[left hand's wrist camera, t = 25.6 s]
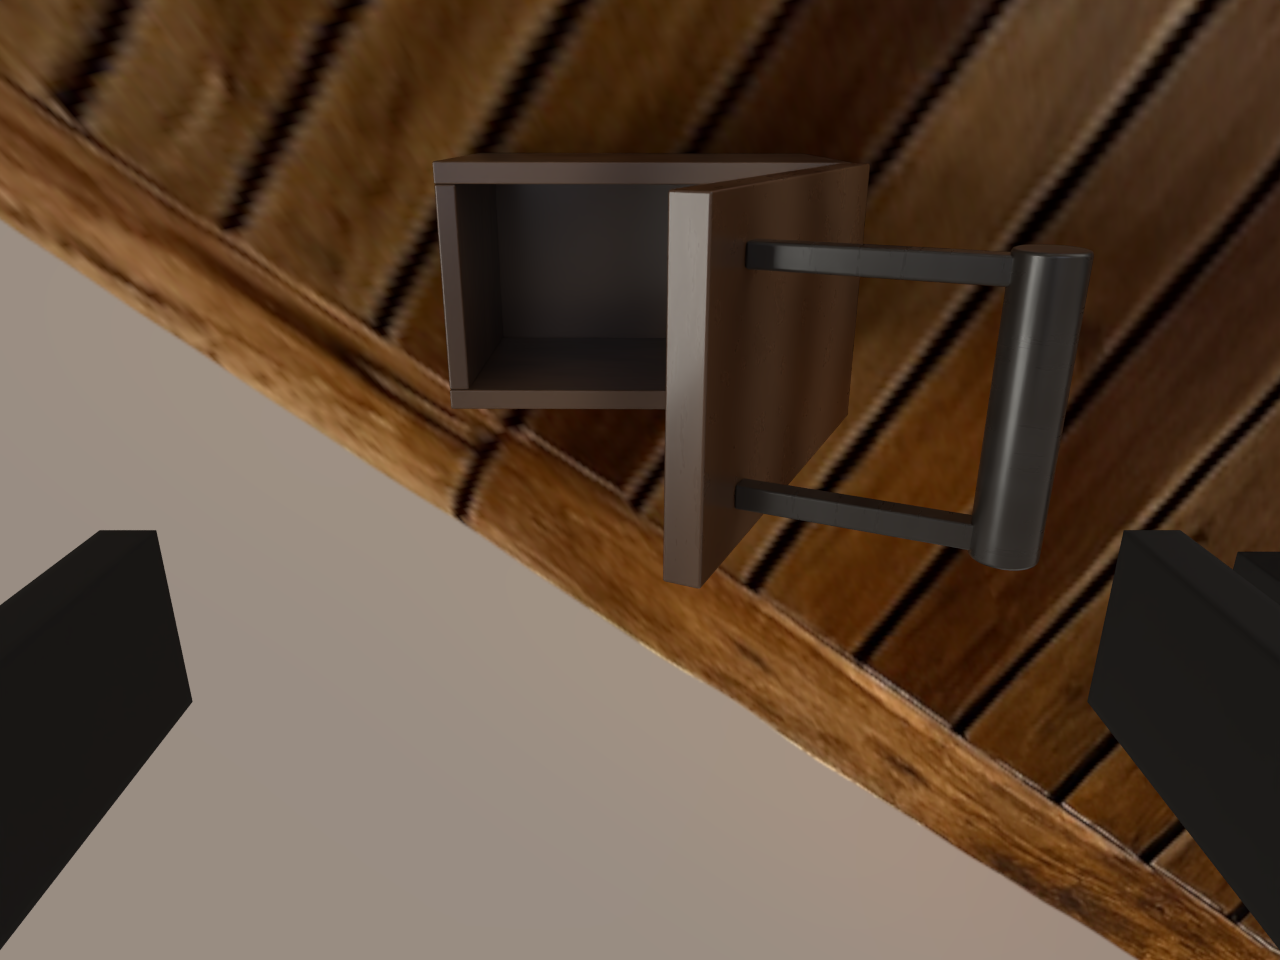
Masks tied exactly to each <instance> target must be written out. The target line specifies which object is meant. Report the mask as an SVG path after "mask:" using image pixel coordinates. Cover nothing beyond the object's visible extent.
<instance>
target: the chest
mask: <svg viewBox="0 0 1280 960" xmlns="http://www.w3.org/2000/svg"><path fill="white" fill-rule="evenodd" d="M840 163H851V162H846V161H840V160H835V159H829V158H824V157H819V156H813V155H808V154H697V153H478V154H472V155H467V156H461V157H456V158H450V159H445V160H439V161H434V162H433V174H434V183H435V198H436V211H437V224H438V237H439V251H440V264H441V277H442V290H443V303H444V316H445V329H446V343H447V356H448V369H449V382H450V389H451V390H450V397H451V407H452V408H464V409H665V408H666V331H667V255H668V192H669V190H671V189H676V188H682V187H689V186H696V185H702V184H709V183H715V182H722V181H728V180H735V179H741V178H748V177H755V176H761V175H768V174H774V173H781V172H787V171H794V170H801V169H807V168H814V167H820V166H827V165H833V164H840Z"/></svg>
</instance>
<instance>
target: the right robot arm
mask: <svg viewBox="0 0 1280 960" xmlns="http://www.w3.org/2000/svg"><path fill="white" fill-rule="evenodd" d="M1233 570H1234V571H1235V572H1236V573H1238V574H1239V575H1240V576H1242V577H1243V578H1244V579H1246V580H1247V581H1248V582H1250V583H1251V584H1252V585H1254V586H1255V587H1256V588H1258V589H1259V590H1260V591H1262V592H1263V593H1264V594H1266V595H1267V596H1268V597H1269V598H1271V599H1272V600H1273V601H1275V602H1276V603H1277V604H1279V605H1280V552H1238V553H1237V557H1236V560H1235V564H1234V568H1233Z"/></svg>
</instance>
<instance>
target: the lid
mask: <svg viewBox="0 0 1280 960" xmlns="http://www.w3.org/2000/svg"><path fill="white" fill-rule="evenodd" d="M869 167H870V165H869V164H868V163H840V164H833V165H827V166H820V167H814V168H807V169H801V170H794V171H787V172H781V173H774V174H768V175H761V176H755V177H748V178H741V179H735V180H728V181H722V182H715V183H709V184H702V185H696V186H689V187H682V188H676V189H671V190H669V192H668V255H667V331H666V408H665V485H664V562H663V580H664V581H666V582H671V583H676V584H680V585H685V586H689V587H694V588H701V587H702V586H703V584H704V583H705V582H706V581H707V580H708V578H709V577H710V576H711V575H712V574H713V573H714V571H715V570H716V569H717V568H718V567H719V566H720V564H721V563H722V562H723V561H724V560H725V558H726V557H727V556H728V555H729V554H730V553H731V551H732V550H733V549H734V548H735V547H736V546H737V544H738V543H739V542H740V541H741V540H742V538H743V537H744V536H745V535H746V534H747V533H748V531H749V530H750V529H751V528H752V527H753V526H754V524H755V523H756V522H757V521H758V520H759V518H760V517H761V516H762V515H763V514H769V515H774V516H780V517H786V518H791V519H797V520H803V521H808V522H814V523H820V524H825V525H831V526H837V527H842V528H848V529H854V530H859V531H865V532H871V533H876V534H882V535H888V536H893V537H899V538H905V539H910V540H916V541H922V542H927V543H933V544H938V545H944V546H950V547H955V548H961V549H967V550H968V553H969V555H970V556H971V557H972V558H973V559H974V560H976V561H978V562H979V563H982V564H984V565H987V566H990V567H993V568H998V569H1003V570H1025V569H1029V568H1032V567H1034V566H1035V565H1036V564H1037V563H1038V561H1039V558H1040V552H1041V547H1042V541H1043V536H1044V530H1045V524H1046V519H1047V513H1048V508H1049V502H1050V497H1051V491H1052V486H1053V480H1054V474H1055V469H1056V463H1057V458H1058V452H1059V447H1060V441H1061V435H1062V430H1063V424H1064V419H1065V413H1066V408H1067V402H1068V397H1069V391H1070V385H1071V380H1072V374H1073V369H1074V363H1075V358H1076V352H1077V346H1078V341H1079V335H1080V330H1081V324H1082V319H1083V313H1084V308H1085V302H1086V296H1087V291H1088V285H1089V280H1090V274H1091V269H1092V263H1093V257H1094V254H1093V251H1091V250H1089V249H1085V248H1080V247H1073V246H1063V245H1042V244H1035V245H1020V246H1016V247H1013V249H1012V250H1011V252H1002V251H983V250H964V249H946V248H927V247H909V246H890V245H872V244H863V235H864V224H865V212H866V201H867V190H868V179H869ZM860 277H869V278H884V279H898V280H913V281H928V282H943V283H957V284H972V285H987V286H1001V287H1006V288H1005V295H1004V302H1003V309H1002V316H1001V322H1000V329H999V336H998V343H997V350H996V356H995V363H994V370H993V377H992V384H991V390H990V397H989V404H988V411H987V418H986V424H985V431H984V438H983V445H982V452H981V458H980V465H979V472H978V479H977V486H976V492H975V499H974V506H973V513H972V515H968V514H961V513H955V512H949V511H943V510H937V509H931V508H924V507H918V506H912V505H906V504H900V503H894V502H887V501H881V500H875V499H869V498H863V497H857V496H850V495H844V494H838V493H832V492H826V491H820V490H814V489H807V488H801V487H795V486H789V485H788V484H789V483H790V482H791V481H792V480H793V478H794V477H795V476H796V475H797V474H798V473H799V471H800V470H801V469H802V468H803V467H804V466H805V464H806V463H807V462H808V461H809V460H810V458H811V457H812V456H813V455H814V454H815V453H816V451H817V450H818V449H819V448H820V447H821V446H822V444H823V443H824V442H825V441H826V440H827V438H828V437H829V436H830V435H831V434H832V433H833V431H834V430H835V429H836V428H837V427H838V426H839V424H840V423H841V422H842V421H843V420H844V418H845V417H846V416H847V415H848V403H849V392H850V381H851V370H852V359H853V347H854V336H855V325H856V314H857V302H858V291H859V280H860Z"/></svg>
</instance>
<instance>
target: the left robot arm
mask: <svg viewBox="0 0 1280 960" xmlns="http://www.w3.org/2000/svg"><path fill="white" fill-rule="evenodd" d="M191 703H192V697H191V692H190V688H189V683H188V678H187V673H186V669H185V664H184V659H183V655H182V650H181V645H180V640H179V636H178V631H177V626H176V621H175V617H174V612H173V607H172V603H171V598H170V593H169V588H168V584H167V579H166V574H165V570H164V565H163V560H162V555H161V551H160V546H159V541H158V537H157V532H156V530H100V531H98V532H97V533H96V534H94V535H93V536H92V537H90V538H89V539H88V540H86V541H85V542H84V543H82V544H81V545H80V546H78V547H77V548H76V549H74V550H73V551H72V552H70V553H69V554H68V555H66V556H65V557H64V558H62V559H61V560H60V561H58V562H57V563H56V564H54V565H53V566H52V567H50V568H49V569H48V570H46V571H45V572H44V573H43V574H41V575H40V576H38V577H37V578H36V579H35V580H33V581H32V582H31V583H29V584H28V585H27V586H25V587H24V588H22V589H21V590H20V591H18V592H17V593H16V594H14V595H13V596H12V597H11V598H9V599H8V600H7V601H5V602H4V603H3V604H1V605H0V950H1V948H2V947H3V946H4V944H5V943H6V942H7V941H8V939H9V938H10V937H11V935H12V934H13V933H14V932H15V930H16V929H17V928H18V926H19V925H20V924H21V923H22V921H23V920H24V919H25V917H26V916H27V915H28V913H29V912H30V911H31V910H32V908H33V907H34V906H35V904H36V903H37V902H38V901H39V899H40V898H41V897H42V895H43V894H44V893H45V891H46V890H47V889H48V888H49V886H50V885H51V884H52V882H53V881H54V880H55V879H56V877H57V876H58V875H59V873H60V872H61V871H62V870H63V868H64V867H65V866H66V864H67V863H68V862H69V860H70V859H71V858H72V857H73V855H74V854H75V853H76V851H77V850H78V849H79V848H80V846H81V845H82V844H83V842H84V841H85V840H86V839H87V837H88V836H89V835H90V833H91V832H92V831H93V829H94V828H95V827H96V826H97V824H98V823H99V822H100V820H101V819H102V818H103V817H104V815H105V814H106V813H107V811H108V810H109V809H110V808H111V806H112V805H113V804H114V802H115V801H116V800H117V799H118V797H119V796H120V795H121V793H122V792H123V791H124V790H125V788H126V787H127V786H128V784H129V783H130V782H131V780H132V779H133V778H134V776H135V775H136V774H137V773H138V771H139V770H140V769H141V767H142V766H143V765H144V764H145V762H146V761H147V760H148V759H149V757H150V756H151V755H152V753H153V752H154V751H155V749H156V748H157V747H158V746H159V744H160V743H161V742H162V740H163V739H164V738H165V737H166V735H167V734H168V733H169V731H170V730H171V729H172V728H173V726H174V725H175V724H176V722H177V721H178V720H179V718H180V717H181V716H182V715H183V713H184V712H185V711H186V709H187V708H188V707H189V706H190V704H191ZM1088 703H1089V704H1090V706H1091V707H1092V708H1093V709H1094V711H1095V712H1096V713H1097V715H1098V716H1099V717H1100V718H1101V720H1102V721H1103V722H1104V724H1105V725H1106V726H1107V728H1108V729H1109V730H1110V731H1111V733H1112V734H1113V735H1114V737H1115V738H1116V739H1117V740H1118V742H1119V743H1120V744H1121V746H1122V747H1123V748H1124V749H1125V751H1126V752H1127V753H1128V755H1129V756H1130V757H1131V759H1132V760H1133V761H1134V762H1135V764H1136V765H1137V766H1138V768H1139V769H1140V770H1141V771H1142V773H1143V774H1144V775H1145V777H1146V778H1147V779H1148V780H1149V782H1150V783H1151V784H1152V786H1153V787H1154V788H1155V790H1156V791H1157V792H1158V793H1159V795H1160V796H1161V797H1162V799H1163V800H1164V801H1165V802H1166V804H1167V805H1168V806H1169V808H1170V809H1171V810H1172V811H1173V813H1174V814H1175V815H1176V817H1177V818H1178V819H1179V821H1180V822H1181V823H1182V824H1183V826H1184V827H1185V828H1186V830H1187V831H1188V832H1189V833H1190V835H1191V836H1192V837H1193V839H1194V840H1195V841H1196V842H1197V844H1198V845H1199V846H1200V848H1201V849H1202V850H1203V851H1204V853H1205V854H1206V855H1207V857H1208V858H1209V859H1210V861H1211V862H1212V863H1213V864H1214V866H1215V867H1216V868H1217V870H1218V871H1219V872H1220V873H1221V875H1222V876H1223V877H1224V879H1225V880H1226V881H1227V882H1228V884H1229V885H1230V886H1231V888H1232V889H1233V890H1234V892H1235V893H1236V894H1237V895H1238V897H1239V898H1240V899H1241V901H1242V902H1243V903H1244V904H1245V906H1246V907H1247V908H1248V910H1249V911H1250V912H1251V913H1252V915H1253V916H1254V917H1255V919H1256V920H1257V921H1258V923H1259V924H1260V925H1261V926H1262V928H1263V929H1264V930H1265V932H1266V933H1267V934H1268V935H1269V937H1270V938H1271V939H1272V941H1273V942H1274V943H1275V944H1276V946H1277V947H1278V948H1279V950H1280V605H1279V604H1277V603H1276V602H1275V601H1273V600H1272V599H1271V598H1269V597H1268V596H1267V595H1266V594H1264V593H1263V592H1262V591H1260V590H1259V589H1258V588H1256V587H1255V586H1254V585H1252V584H1251V583H1250V582H1248V581H1247V580H1246V579H1244V578H1243V577H1242V576H1240V575H1239V574H1238V573H1236V572H1235V571H1234V570H1232V569H1231V568H1230V567H1228V566H1227V565H1226V564H1224V563H1223V562H1222V561H1220V560H1219V559H1218V558H1216V557H1215V556H1214V555H1212V554H1211V553H1210V552H1208V551H1207V550H1206V549H1204V548H1203V547H1202V546H1200V545H1199V544H1198V543H1196V542H1195V541H1194V540H1192V539H1191V538H1190V537H1188V536H1187V535H1186V534H1184V533H1183V532H1182V531H1180V530H1124V532H1123V537H1122V541H1121V546H1120V551H1119V555H1118V560H1117V565H1116V570H1115V574H1114V579H1113V584H1112V588H1111V593H1110V598H1109V603H1108V607H1107V612H1106V617H1105V621H1104V626H1103V631H1102V636H1101V640H1100V645H1099V650H1098V654H1097V659H1096V664H1095V669H1094V673H1093V678H1092V683H1091V688H1090V692H1089V697H1088Z"/></svg>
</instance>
